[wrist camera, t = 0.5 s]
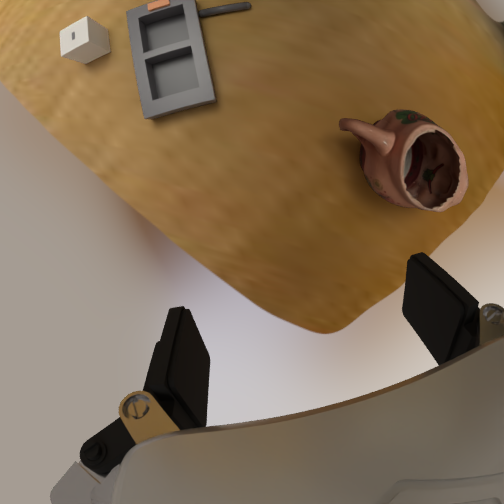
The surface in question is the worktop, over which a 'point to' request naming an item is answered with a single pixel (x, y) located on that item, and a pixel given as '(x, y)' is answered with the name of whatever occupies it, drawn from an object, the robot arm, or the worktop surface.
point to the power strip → (172, 55)
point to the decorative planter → (410, 160)
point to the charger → (84, 41)
